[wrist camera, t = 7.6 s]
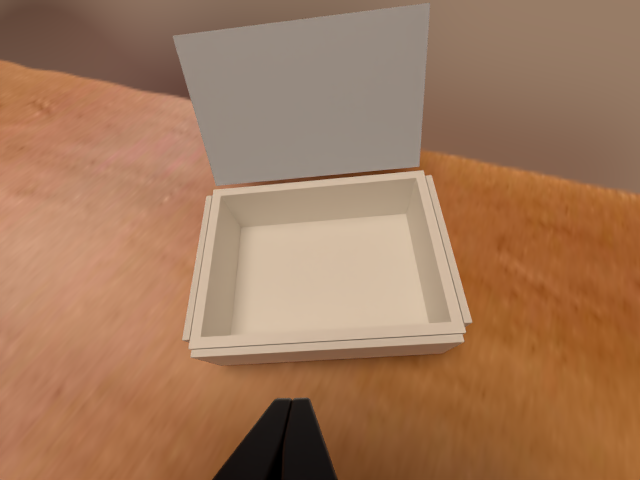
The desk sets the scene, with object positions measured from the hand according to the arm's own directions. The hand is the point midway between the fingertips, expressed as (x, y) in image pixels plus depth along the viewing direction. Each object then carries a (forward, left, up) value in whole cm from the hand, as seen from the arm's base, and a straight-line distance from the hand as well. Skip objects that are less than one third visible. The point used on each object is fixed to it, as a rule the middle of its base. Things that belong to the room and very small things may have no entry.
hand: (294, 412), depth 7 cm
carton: (+7, -4, -13) cm, 16 cm away
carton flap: (+14, -9, -4) cm, 17 cm away
